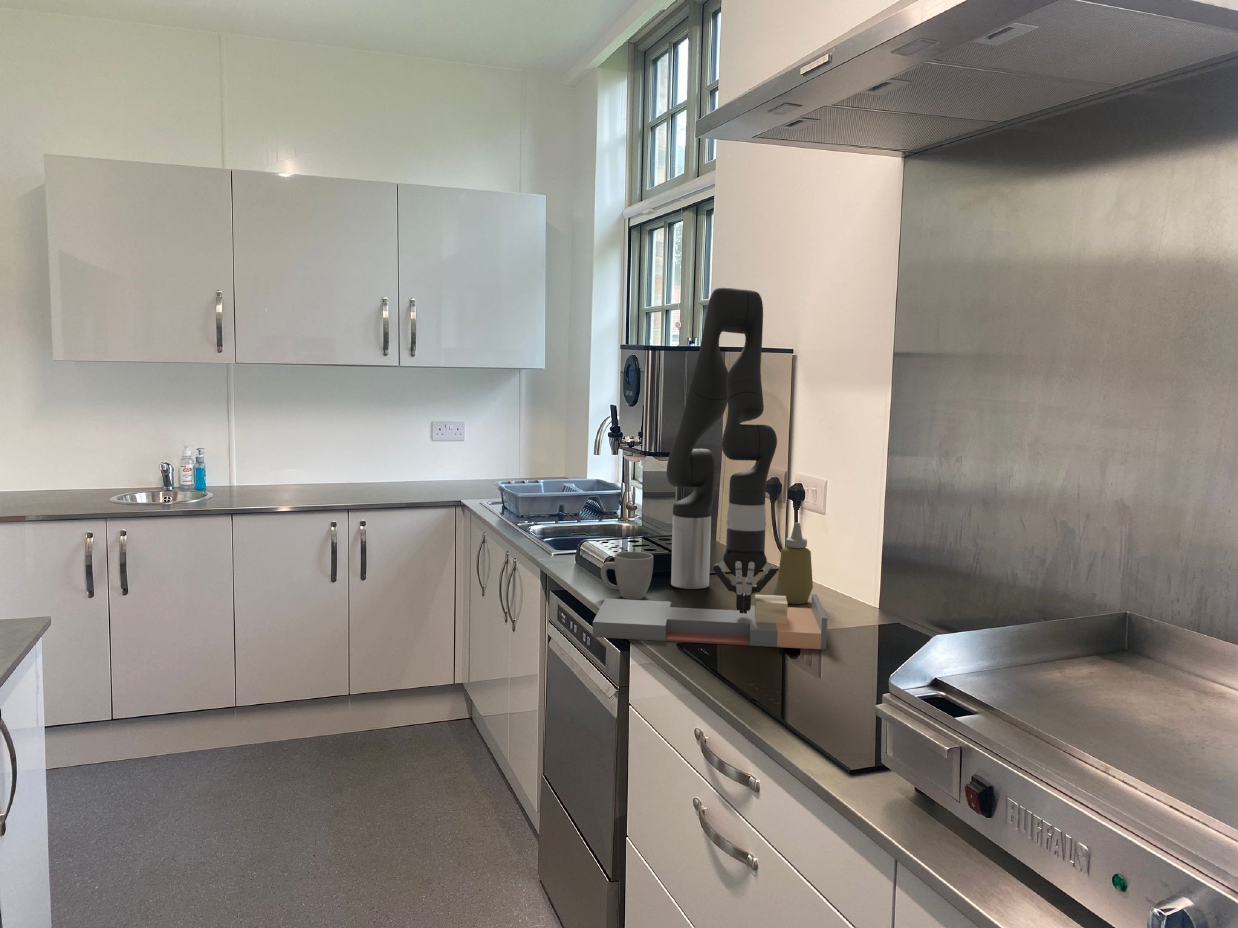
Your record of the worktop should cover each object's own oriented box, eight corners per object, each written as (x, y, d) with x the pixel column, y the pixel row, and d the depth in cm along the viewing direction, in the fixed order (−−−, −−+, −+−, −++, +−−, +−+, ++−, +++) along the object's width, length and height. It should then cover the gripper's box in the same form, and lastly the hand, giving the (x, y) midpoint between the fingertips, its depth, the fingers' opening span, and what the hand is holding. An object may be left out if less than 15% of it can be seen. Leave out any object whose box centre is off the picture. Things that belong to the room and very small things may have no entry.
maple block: (754, 613, 172) (755, 594, 172) (784, 615, 171) (785, 595, 171) (755, 622, 166) (756, 602, 166) (786, 623, 165) (787, 603, 165)
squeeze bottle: (773, 604, 192) (776, 524, 190) (778, 595, 200) (781, 519, 198) (810, 607, 190) (814, 527, 188) (813, 598, 197) (816, 521, 196)
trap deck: (605, 612, 183) (605, 584, 182) (815, 622, 178) (816, 594, 177) (592, 636, 165) (593, 606, 164) (825, 649, 160) (827, 618, 159)
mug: (648, 591, 201) (649, 551, 200) (656, 601, 193) (656, 558, 192) (597, 592, 200) (598, 551, 199) (603, 602, 191) (603, 559, 190)
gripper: (779, 524, 171) (775, 609, 173) (712, 521, 173) (710, 605, 174) (781, 530, 164) (777, 619, 165) (711, 527, 165) (709, 615, 167)
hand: (743, 612), depth 170 cm, fingers closed
